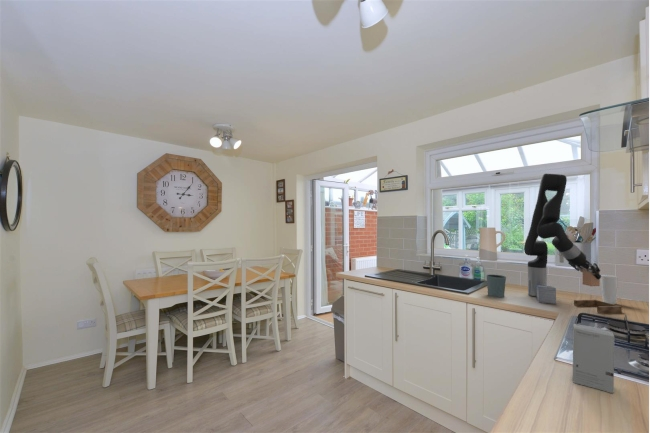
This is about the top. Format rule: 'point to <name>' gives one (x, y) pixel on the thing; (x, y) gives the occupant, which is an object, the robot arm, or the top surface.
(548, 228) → the robot arm
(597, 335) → the grey upright rectangular block
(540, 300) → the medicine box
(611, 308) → the frame
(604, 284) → the drinking glass
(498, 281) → the green plant pot
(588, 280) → the terracotta block
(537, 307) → the top surface
